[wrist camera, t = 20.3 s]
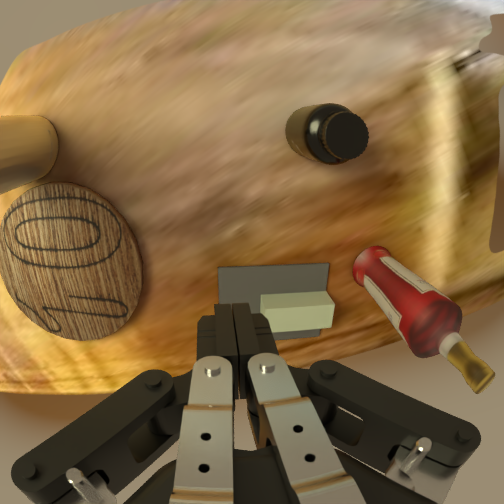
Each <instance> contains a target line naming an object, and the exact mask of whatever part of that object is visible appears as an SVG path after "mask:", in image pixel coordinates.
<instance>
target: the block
mask: <svg viewBox="0 0 504 504" xmlns="http://www.w3.org/2000/svg"><path fill="white" fill-rule="evenodd" d="M334 307H335V304H334V302H333V301H332V299H331V298H330V296H329V295H328V293H327V292H326V291H319V292H302V293H284V294H265V295H261V304H260V313H262V314H263V315H264V316H265V317H266V318H267V319H268V321H269V324H270V328H271V331H272V332H286V331H299V330H310V329H321V328H331V325H332V319H333V313H334Z"/></svg>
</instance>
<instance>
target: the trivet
mask: <svg viewBox="0 0 504 504" xmlns="http://www.w3.org/2000/svg"><path fill="white" fill-rule="evenodd" d="M0 273H1V276H2V279H3V281H4V284H5V286H6V288H7V291H8V292H9V294H10V296H11V297H12V299H13V300H14V302H15V303H16V305H17V306H18V307H19V308H20V310H21V311H22V312H23V313H24V314H25V315H26V316H27V317H28V318H29V319H30V320H31V321H33V322H34V323H36V324H37V325H39V326H40V327H41V328H43V329H44V330H46V331H48V332H50V333H53V334H55V335H57V336H60V337H63V338H66V339H73V340H79V341H85V340H95V339H100V338H102V337H105V336H107V335H110V334H112V333H114V332H115V331H117V330H118V329H119V328H120V327H121V326H123V325H124V324H125V323H126V322H127V321H128V319H129V318H130V316H131V315H132V313H133V311H134V310H135V308H136V306H137V304H138V300H139V297H140V293H141V289H142V285H143V261H142V258H141V254H140V250H139V247H138V243H137V240H136V238H135V236H134V234H133V232H132V231H131V229H130V227H129V225H128V223H127V221H126V220H125V218H124V217H123V216H122V215H121V214H120V213H119V212H118V211H117V210H116V208H115V207H114V206H113V205H112V204H111V203H110V202H109V201H108V200H106V199H105V198H103V197H102V196H100V195H99V194H97V193H96V192H94V191H93V190H91V189H89V188H86V187H83V186H80V185H77V184H74V183H71V182H49V183H46V184H43V185H40V186H37V187H34V188H32V189H30V190H27V191H26V192H25V193H24V194H22V195H21V196H20V197H19V198H17V199H16V200H15V201H13V203H12V204H11V206H10V207H9V209H8V210H7V212H6V213H5V215H4V217H3V219H2V223H1V226H0Z"/></svg>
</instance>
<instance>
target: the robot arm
mask: <svg viewBox="0 0 504 504" xmlns="http://www.w3.org/2000/svg"><path fill="white" fill-rule="evenodd" d="M57 153H58V137H57V133H56V130H55V129H54V127H53V125H52V124H51V123H50V122H49V121H48V120H47V119H46V118H44V117H41V116H22V115H19V116H0V195H1V194H3V193H5V192H8V191H10V190H12V189H15V188H17V187H20V186H22V185H25V184H27V183H30V182H32V181H35V180H37V179H40V178H42V177H43V176H45V175H46V174H47V173H48V172H49V171H50V170H51V168H52V167H53V165H54V163H55V160H56V158H57ZM214 308H215V315H210V316H202V317H201V319H200V320H199V321H198V327H197V361H196V363H195V364H194V366H193V369H192V370H191V371H190V372H188V373H186V374H184V375H181V376H177V377H173V378H172V377H171V375H170V374H169V373H167V372H165V371H162V370H148V371H145V372H143V373H141V374H139V375H138V376H137V377H135V378H134V379H133V380H131V381H130V382H128V383H127V384H126V385H124V386H123V387H121V388H120V389H119V390H117V391H116V392H114V393H113V394H112V395H110V396H109V397H108V398H106V399H105V400H103V401H102V402H100V403H99V404H98V405H96V406H95V407H93V408H92V409H91V410H89V411H88V412H86V413H85V414H83V415H82V416H81V417H79V418H78V419H76V420H75V421H73V422H72V423H70V424H69V425H68V426H66V427H65V428H63V429H62V430H60V431H59V432H58V433H56V434H55V435H53V436H52V437H50V438H49V439H47V440H46V441H44V442H43V443H41V444H40V445H38V446H37V447H35V448H34V449H32V450H31V451H30V452H28V453H26V454H25V455H24V456H22V457H20V458H19V459H18V460H16V462H15V463H14V464H13V466H12V470H11V477H12V480H13V482H14V484H15V485H16V486H17V487H18V488H19V489H20V490H21V491H22V492H23V493H24V494H25V495H26V496H27V497H28V499H29V500H30V501H31V502H32V503H34V504H117V500H116V497H115V495H116V494H117V493H119V492H120V491H121V490H122V489H123V488H125V487H126V486H127V485H128V484H129V483H130V482H132V481H133V480H134V479H135V478H136V477H137V476H139V475H140V474H141V473H142V472H143V471H144V470H145V469H146V468H147V467H149V466H150V465H151V464H152V463H153V462H154V461H155V460H157V458H159V457H160V456H161V455H162V454H163V453H164V452H165V451H166V450H168V449H169V448H170V447H171V446H172V445H173V444H174V443H175V442H176V441H177V440H178V439H179V446H178V454H177V459H176V460H174V461H171V462H170V463H168V464H166V465H164V466H163V467H162V468H160V469H159V470H158V471H157V472H156V473H155V474H154V475H152V477H151V478H149V479H148V480H147V481H146V483H144V484H143V485H142V486H141V487H140V488H139V489H138V490H137V491H136V492H135V493H134V494H133V495H132V496H131V497H130V498H129V499H128V500H126V502H124V503H123V504H443V502H444V500H445V498H446V496H447V494H448V492H449V490H450V488H451V486H452V484H453V481H454V479H455V477H456V475H457V473H458V470H459V469H460V468H461V467H462V466H463V465H464V463H465V462H466V461H467V460H468V459H469V457H470V456H471V455H472V454H473V452H474V451H475V450H476V449H477V448H478V446H479V445H480V442H481V435H480V432H479V430H478V429H477V428H476V427H475V426H474V425H473V424H471V423H470V422H467V421H465V420H462V419H460V418H457V417H455V416H453V415H450V414H448V413H446V412H443V411H441V410H439V409H436V408H434V407H432V406H429V405H427V404H425V403H423V402H420V401H418V400H416V399H414V398H412V397H409V396H407V395H405V394H403V393H401V392H398V391H396V390H394V389H392V388H390V387H388V386H386V385H383V384H381V383H379V382H377V381H375V380H373V379H371V378H369V377H367V376H364V375H362V374H360V373H358V372H356V371H354V370H352V369H350V368H348V367H346V366H344V365H342V364H340V363H338V362H336V361H332V360H321V361H317V362H315V363H314V364H312V365H311V367H310V369H301V368H295V367H292V366H289V365H287V364H286V362H285V360H284V359H283V358H282V357H280V356H279V354H278V350H277V347H276V344H275V340H274V337H273V334H272V331H271V328H270V324H269V321H268V319H267V318H266V317H265V316H264V315H263V314H262V313H253V314H251V310H250V306H249V303H232V309H231V303H229V304H214ZM238 386H239V393H240V399H247V415H248V419H249V422H250V426H251V430H252V434H253V437H254V441H255V444H256V448H257V450H254V451H247V450H238V449H234V411H235V399H239V395H238ZM338 406H340V407H342V408H344V409H346V410H347V411H349V412H351V413H353V414H355V415H357V416H359V417H360V418H361V419H363V421H362V420H360V419H358V418H356V417H354V416H353V415H351V414H349V413H347V412H345V411H343V410H341V409H340V408H338ZM332 445H333V446H335V447H337V448H339V449H340V450H342V451H344V452H346V453H348V454H349V455H348V454H346V453H344V452H342V451H340V450H337V449H334V448H333V446H332ZM350 455H351V456H353V457H355V458H356V459H358V460H360V461H362V462H364V463H366V464H368V465H369V466H371V467H373V468H375V469H377V470H379V471H381V472H383V473H385V476H384V475H382V474H381V473H379V472H377V471H375V470H373V469H372V468H370V467H368V466H366V465H365V464H363V463H361V462H360V461H358V460H356V459H354V458H352V457H351V456H350Z"/></svg>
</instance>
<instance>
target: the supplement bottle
mask: <svg viewBox="0 0 504 504" xmlns="http://www.w3.org/2000/svg"><path fill="white" fill-rule="evenodd" d="M285 134H286V139H287V142H288V144H289V145H290V147H291V148H292V149H293V150H294V151H295V152H296V153H298V154H299V155H301V156H304V157H307V158H309V159H312V160H315V161H318V162H321V163H324V164H329V165H338V164H342V163H345V162H347V161H348V160H350V159H352V158H356V157H357V156H359V155H360V154H362V153H363V151H364V150H365V148H366V147H367V143H368V139H369V136H368V134H369V132H368V128H367V127H366V124H365V123H364V121H363V120H362V119H361V118H360V117H359V116H357V115H356V114H353V113H352V112H351V111H350V110H349V109H348V108H346V107H344V106H342V105H339V104H334V103H327V104H319V105H313V106H307V107H303V108H300V109H298V110H296V111H295V112H294V113H293V114H292V115H291V116H290V117H289V119H288V121H287V124H286V129H285Z"/></svg>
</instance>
